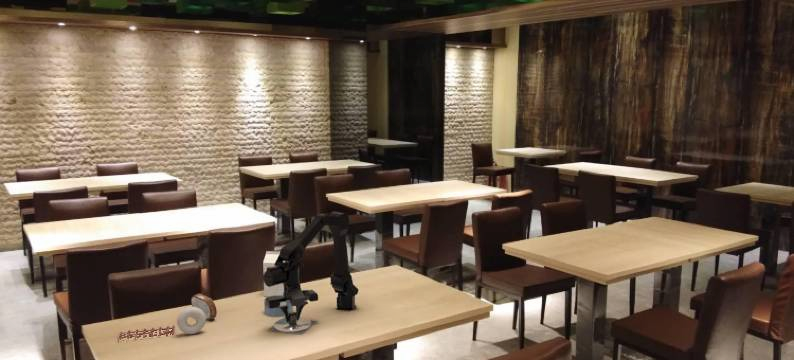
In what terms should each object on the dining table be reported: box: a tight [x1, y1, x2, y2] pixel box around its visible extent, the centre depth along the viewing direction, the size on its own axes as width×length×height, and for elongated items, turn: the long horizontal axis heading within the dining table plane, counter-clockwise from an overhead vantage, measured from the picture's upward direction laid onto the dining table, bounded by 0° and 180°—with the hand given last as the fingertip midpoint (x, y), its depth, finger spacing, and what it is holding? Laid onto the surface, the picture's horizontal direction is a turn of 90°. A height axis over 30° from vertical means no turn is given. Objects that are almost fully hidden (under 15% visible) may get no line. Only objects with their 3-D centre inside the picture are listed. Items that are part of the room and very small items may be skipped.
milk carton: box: [262, 250, 286, 297], centre depth 264 cm, size 7×7×19 cm
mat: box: [266, 316, 318, 336], centre depth 228 cm, size 14×14×1 cm
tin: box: [190, 293, 218, 321], centre depth 239 cm, size 15×3×8 cm, turn 47°
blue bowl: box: [263, 295, 294, 318], centre depth 243 cm, size 11×11×6 cm
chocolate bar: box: [118, 324, 176, 340], centre depth 221 cm, size 7×19×2 cm, turn 108°
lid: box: [273, 311, 312, 334], centre depth 228 cm, size 14×14×5 cm
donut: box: [176, 306, 207, 335], centre depth 222 cm, size 10×3×10 cm, turn 113°
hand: (292, 321), depth 228 cm, fingers open, 4 cm apart
